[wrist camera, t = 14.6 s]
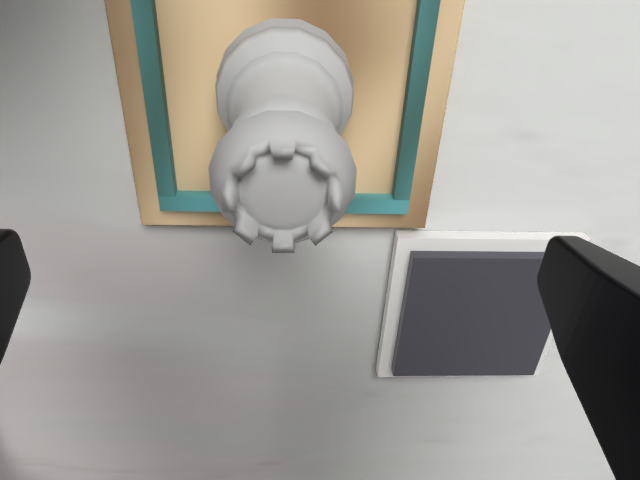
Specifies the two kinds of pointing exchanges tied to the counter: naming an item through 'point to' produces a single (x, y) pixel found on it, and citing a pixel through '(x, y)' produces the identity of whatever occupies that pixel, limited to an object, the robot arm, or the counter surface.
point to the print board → (207, 128)
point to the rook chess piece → (283, 134)
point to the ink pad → (465, 305)
